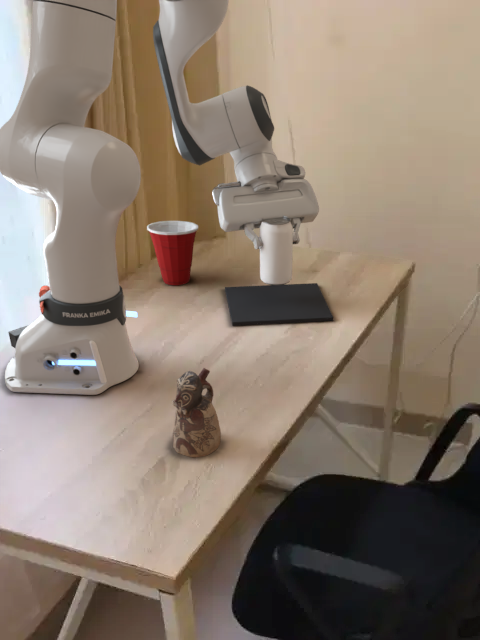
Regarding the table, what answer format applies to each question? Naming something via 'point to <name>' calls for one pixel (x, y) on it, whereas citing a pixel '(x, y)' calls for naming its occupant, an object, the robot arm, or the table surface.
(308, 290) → the desk mat
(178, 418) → the figurine
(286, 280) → the can
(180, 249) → the plastic cup
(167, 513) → the table surface
